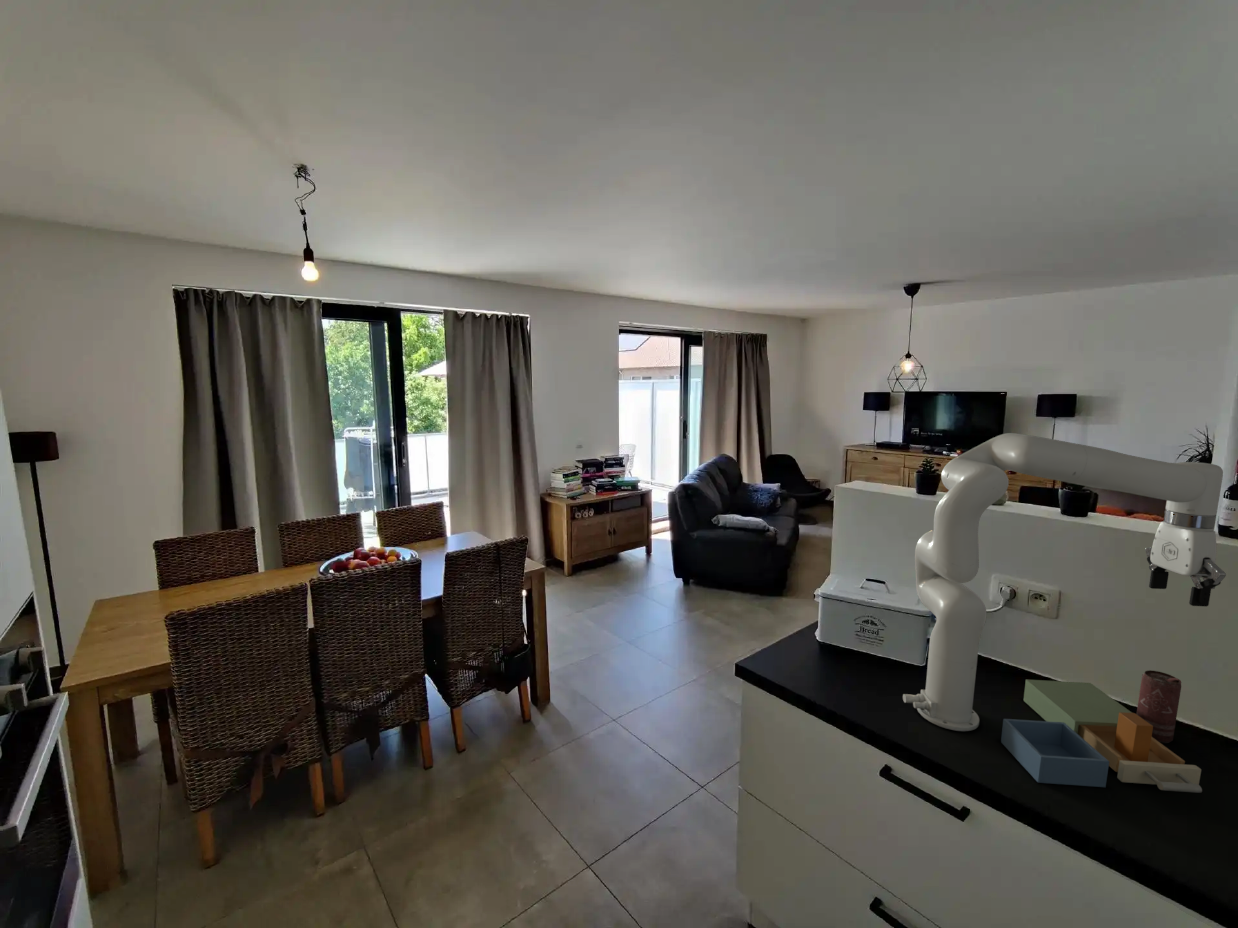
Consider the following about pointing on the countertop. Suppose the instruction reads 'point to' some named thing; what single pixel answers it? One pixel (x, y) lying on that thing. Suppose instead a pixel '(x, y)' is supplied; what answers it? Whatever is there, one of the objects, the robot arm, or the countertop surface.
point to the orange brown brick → (1133, 737)
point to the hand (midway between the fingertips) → (1177, 596)
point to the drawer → (1157, 770)
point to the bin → (1054, 753)
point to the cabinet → (1072, 703)
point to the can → (1159, 703)
